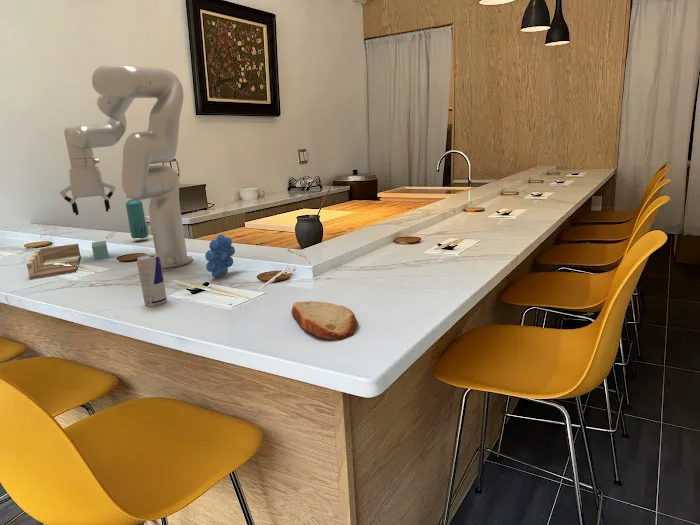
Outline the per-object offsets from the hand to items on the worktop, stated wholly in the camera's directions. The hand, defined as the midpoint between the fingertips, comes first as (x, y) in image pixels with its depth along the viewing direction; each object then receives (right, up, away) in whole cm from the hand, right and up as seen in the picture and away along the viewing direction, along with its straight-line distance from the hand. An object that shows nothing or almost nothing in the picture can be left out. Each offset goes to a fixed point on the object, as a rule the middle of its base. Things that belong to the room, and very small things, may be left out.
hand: (92, 212), depth 182 cm
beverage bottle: (+6, -9, +27) cm, 29 cm away
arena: (-8, -19, -7) cm, 22 cm away
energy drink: (+41, -28, -51) cm, 71 cm away
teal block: (+1, -15, +4) cm, 16 cm away
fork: (+70, -22, -37) cm, 82 cm away
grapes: (+53, -21, -31) cm, 65 cm away
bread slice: (+84, -31, -71) cm, 115 cm away
